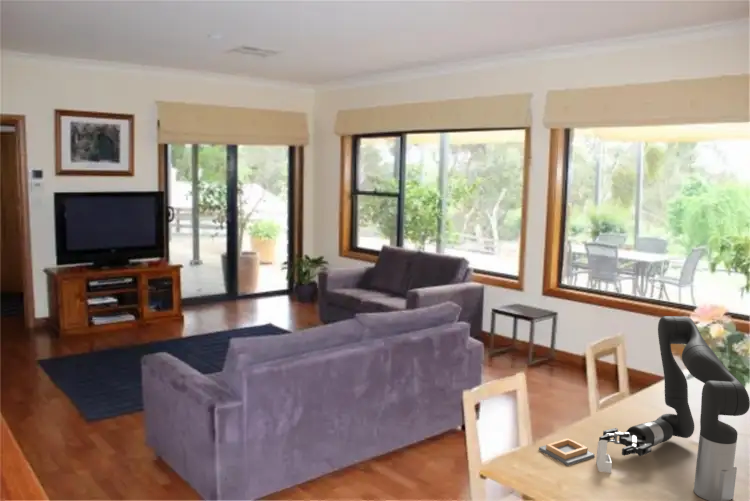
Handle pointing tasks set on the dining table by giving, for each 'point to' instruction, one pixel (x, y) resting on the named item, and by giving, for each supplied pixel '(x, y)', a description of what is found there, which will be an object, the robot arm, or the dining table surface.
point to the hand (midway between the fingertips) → (611, 446)
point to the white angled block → (603, 457)
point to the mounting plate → (567, 451)
